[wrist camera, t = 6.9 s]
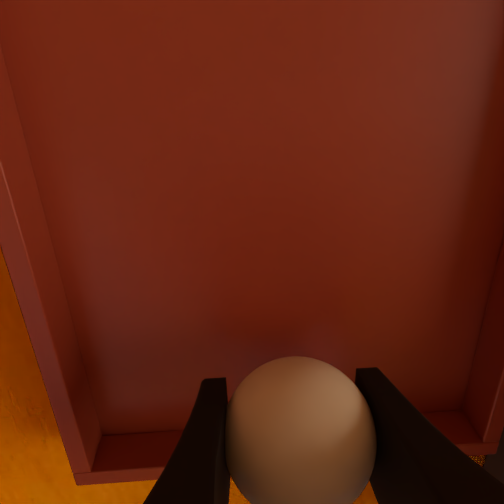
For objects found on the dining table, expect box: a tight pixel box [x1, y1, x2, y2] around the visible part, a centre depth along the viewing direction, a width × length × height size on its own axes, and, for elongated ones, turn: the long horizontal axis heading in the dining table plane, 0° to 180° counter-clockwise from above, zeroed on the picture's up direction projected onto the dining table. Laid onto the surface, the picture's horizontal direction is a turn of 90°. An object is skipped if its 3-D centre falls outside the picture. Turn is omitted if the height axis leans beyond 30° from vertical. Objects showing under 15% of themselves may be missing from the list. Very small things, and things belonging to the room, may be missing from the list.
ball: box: [225, 356, 377, 504], centre depth 11 cm, size 4×4×4 cm
